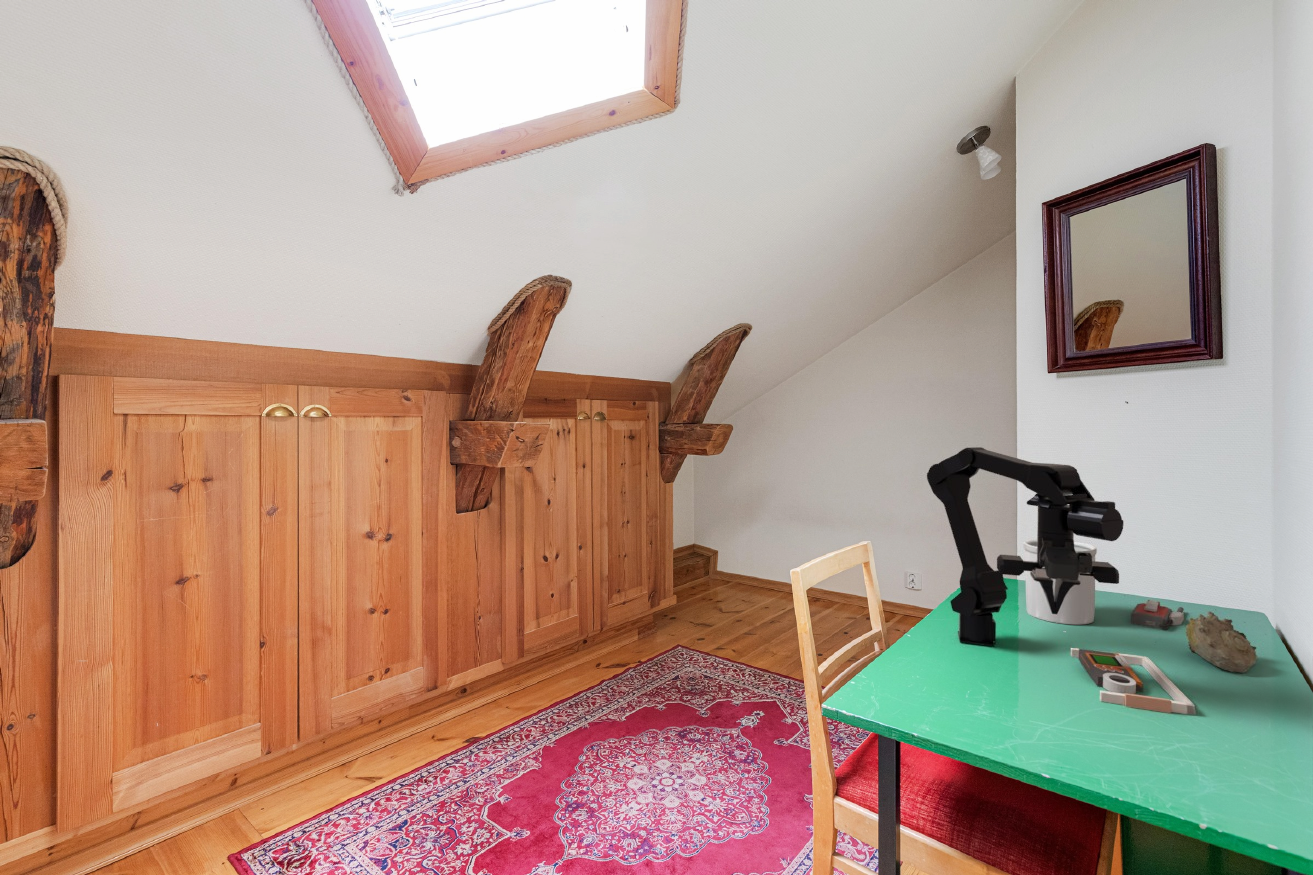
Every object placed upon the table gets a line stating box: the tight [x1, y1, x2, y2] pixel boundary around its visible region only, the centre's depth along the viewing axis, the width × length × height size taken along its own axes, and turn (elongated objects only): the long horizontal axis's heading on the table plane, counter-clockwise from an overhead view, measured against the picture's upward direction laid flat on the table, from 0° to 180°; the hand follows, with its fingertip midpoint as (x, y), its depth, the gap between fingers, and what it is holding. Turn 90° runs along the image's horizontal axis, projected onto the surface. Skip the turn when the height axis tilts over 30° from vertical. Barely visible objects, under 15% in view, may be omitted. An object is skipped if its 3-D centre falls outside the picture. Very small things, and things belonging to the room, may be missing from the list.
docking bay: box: [1070, 647, 1196, 716], centre depth 110 cm, size 12×23×2 cm, turn 157°
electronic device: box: [1078, 648, 1144, 695], centre depth 112 cm, size 7×3×15 cm
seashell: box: [1185, 611, 1258, 674], centre depth 119 cm, size 11×14×10 cm
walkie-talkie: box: [1130, 599, 1185, 631], centre depth 145 cm, size 9×4×20 cm
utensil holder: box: [1023, 539, 1098, 625], centre depth 147 cm, size 15×15×18 cm
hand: (1054, 613), depth 115 cm, fingers closed
